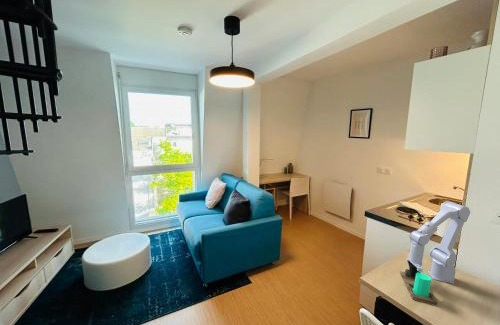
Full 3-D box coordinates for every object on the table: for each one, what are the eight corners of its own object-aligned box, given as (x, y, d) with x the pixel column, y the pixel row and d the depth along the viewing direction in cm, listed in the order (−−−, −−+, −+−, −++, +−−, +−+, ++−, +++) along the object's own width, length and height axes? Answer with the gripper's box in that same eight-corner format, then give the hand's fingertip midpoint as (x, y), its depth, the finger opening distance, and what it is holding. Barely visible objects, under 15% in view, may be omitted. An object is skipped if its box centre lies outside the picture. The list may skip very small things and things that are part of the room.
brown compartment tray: (400, 273, 122) (401, 265, 121) (420, 278, 119) (422, 270, 118) (412, 299, 104) (413, 290, 103) (437, 305, 100) (439, 296, 99)
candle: (430, 300, 103) (434, 278, 101) (417, 298, 105) (420, 276, 103) (423, 291, 109) (427, 270, 107) (410, 289, 110) (413, 268, 108)
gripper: (403, 244, 123) (400, 265, 125) (412, 258, 110) (408, 281, 112) (418, 247, 121) (414, 268, 123) (429, 262, 107) (424, 285, 109)
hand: (412, 275), depth 117 cm, fingers closed on brown compartment tray, 2 cm apart
